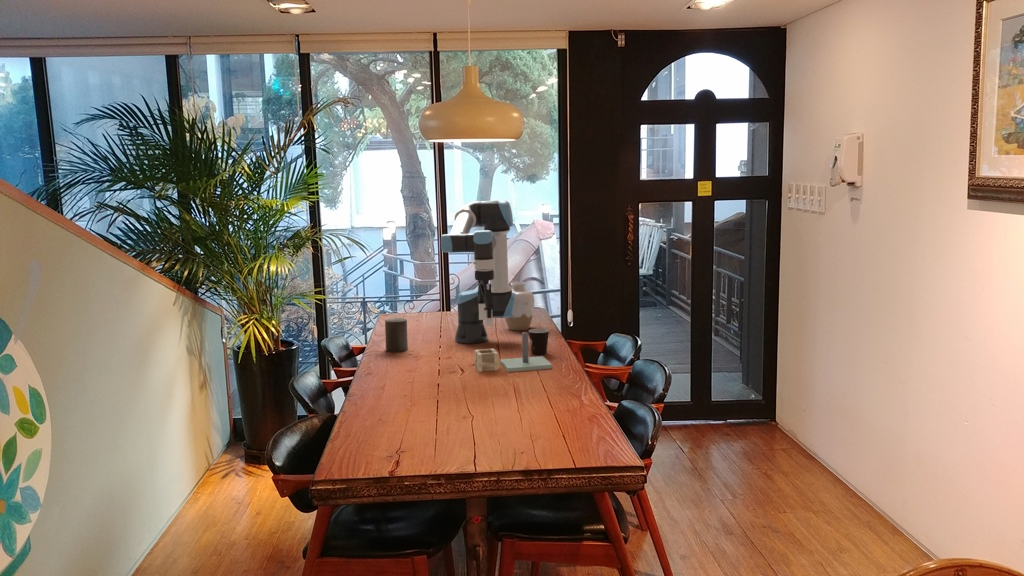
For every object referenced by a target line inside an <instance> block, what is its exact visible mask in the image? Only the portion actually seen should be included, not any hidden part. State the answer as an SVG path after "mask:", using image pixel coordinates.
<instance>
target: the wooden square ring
mask: <svg viewBox="0 0 1024 576" xmlns="http://www.w3.org/2000/svg"><path fill="white" fill-rule="evenodd" d="M474 367H475V368H476V370H477V372H479V373H480V372H490V371H491V372H493V370H494V371H499V353H498V351H497V350H496V349H495V348H484V349H474Z"/></svg>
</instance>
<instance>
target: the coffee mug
mask: <svg viewBox="0 0 1024 576" xmlns="http://www.w3.org/2000/svg"><path fill="white" fill-rule="evenodd" d="M549 331H550V330H549V329H547V328H532V329H528V338H529V341H530V342H529V343H530V349H531V350H530V351H531V355H533V356H545V355H547V353H548V343H549Z"/></svg>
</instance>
